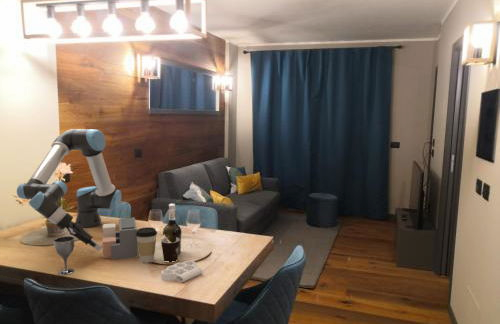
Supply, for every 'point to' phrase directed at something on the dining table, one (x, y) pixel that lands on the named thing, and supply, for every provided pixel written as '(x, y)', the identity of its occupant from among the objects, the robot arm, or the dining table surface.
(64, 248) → the wine glass
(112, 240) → the terracotta key
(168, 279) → the grey muffin tray
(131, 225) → the console
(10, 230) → the dining table surface
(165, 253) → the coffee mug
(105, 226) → the cream key
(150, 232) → the coffee cup
